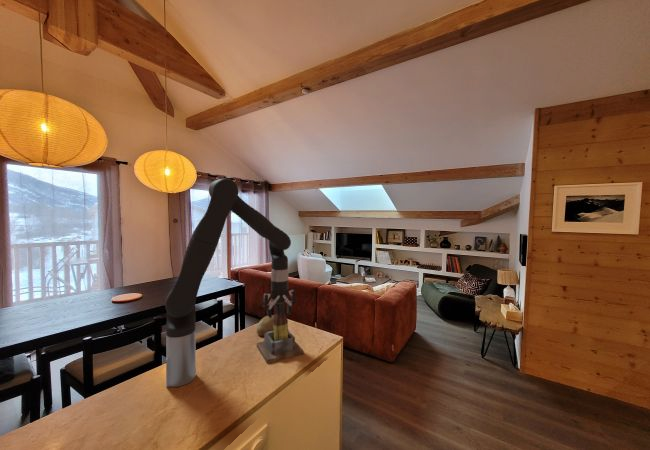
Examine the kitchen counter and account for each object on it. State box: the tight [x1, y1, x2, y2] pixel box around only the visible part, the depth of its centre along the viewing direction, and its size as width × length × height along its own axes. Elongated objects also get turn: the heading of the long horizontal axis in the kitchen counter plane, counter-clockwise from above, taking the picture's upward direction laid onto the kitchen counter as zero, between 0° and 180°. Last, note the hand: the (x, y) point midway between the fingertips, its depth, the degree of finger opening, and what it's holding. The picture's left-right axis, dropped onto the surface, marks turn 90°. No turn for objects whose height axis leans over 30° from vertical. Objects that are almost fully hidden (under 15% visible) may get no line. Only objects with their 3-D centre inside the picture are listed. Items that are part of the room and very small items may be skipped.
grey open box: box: [256, 330, 304, 364], centre depth 116 cm, size 16×16×6 cm
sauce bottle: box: [273, 301, 289, 342], centre depth 116 cm, size 6×6×20 cm
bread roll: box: [256, 314, 275, 337], centre depth 134 cm, size 10×15×8 cm, turn 145°
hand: (279, 315), depth 115 cm, fingers open, 8 cm apart
